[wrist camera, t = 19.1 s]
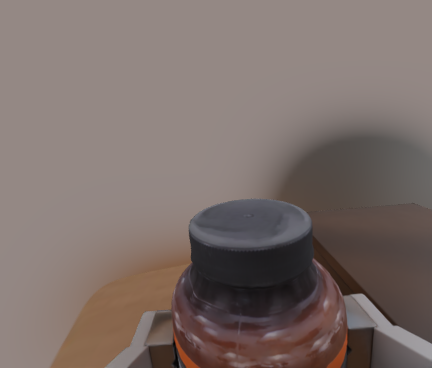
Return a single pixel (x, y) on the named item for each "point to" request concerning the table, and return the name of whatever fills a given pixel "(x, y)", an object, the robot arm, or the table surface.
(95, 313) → the table surface
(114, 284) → the table surface
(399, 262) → the lid
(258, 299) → the supplement bottle
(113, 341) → the table surface
